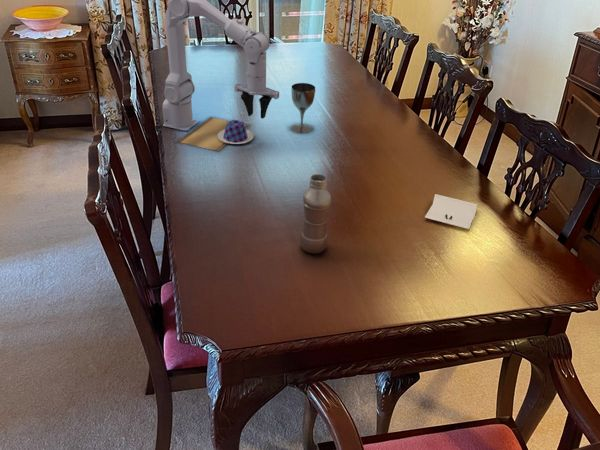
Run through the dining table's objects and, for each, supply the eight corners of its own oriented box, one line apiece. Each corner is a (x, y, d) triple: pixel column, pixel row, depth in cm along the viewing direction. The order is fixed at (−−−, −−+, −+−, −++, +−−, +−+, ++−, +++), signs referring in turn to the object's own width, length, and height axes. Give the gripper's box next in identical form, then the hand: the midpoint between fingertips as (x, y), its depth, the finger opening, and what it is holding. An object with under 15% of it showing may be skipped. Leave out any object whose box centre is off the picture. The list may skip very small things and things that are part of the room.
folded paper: (423, 220, 148) (425, 214, 147) (433, 199, 158) (435, 193, 156) (469, 232, 144) (470, 226, 143) (476, 210, 154) (478, 204, 153)
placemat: (177, 142, 180) (177, 141, 180) (210, 117, 198) (210, 117, 198) (218, 151, 176) (218, 151, 176) (248, 125, 193) (248, 125, 193)
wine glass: (310, 134, 189) (312, 92, 181) (287, 131, 191) (289, 89, 182) (314, 125, 196) (317, 84, 187) (292, 122, 197) (294, 81, 189)
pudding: (229, 127, 191) (229, 112, 188) (260, 135, 187) (260, 121, 184) (210, 140, 182) (209, 125, 179) (241, 149, 178) (241, 134, 175)
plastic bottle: (309, 237, 139) (313, 168, 128) (331, 247, 136) (338, 177, 125) (294, 250, 135) (297, 178, 124) (317, 260, 132) (323, 188, 121)
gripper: (229, 74, 168) (230, 116, 176) (273, 82, 164) (272, 125, 172) (239, 67, 174) (240, 108, 182) (282, 75, 170) (281, 116, 178)
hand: (256, 116), depth 177 cm, fingers open, 4 cm apart
